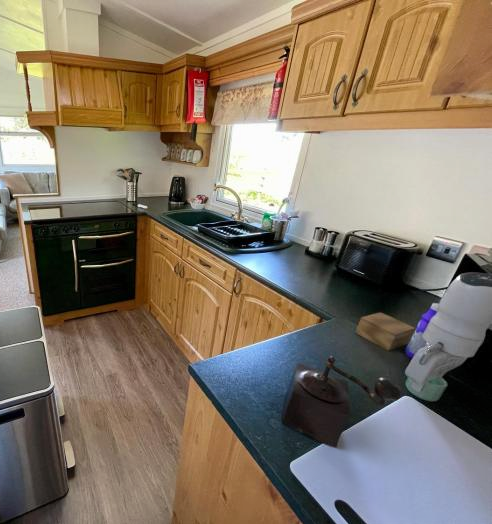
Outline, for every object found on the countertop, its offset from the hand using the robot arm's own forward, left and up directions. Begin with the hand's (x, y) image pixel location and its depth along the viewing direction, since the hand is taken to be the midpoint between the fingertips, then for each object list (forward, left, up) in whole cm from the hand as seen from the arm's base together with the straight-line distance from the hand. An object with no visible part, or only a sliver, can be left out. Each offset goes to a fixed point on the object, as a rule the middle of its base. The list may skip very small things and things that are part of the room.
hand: (424, 384), depth 72 cm
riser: (+18, -17, -2) cm, 25 cm away
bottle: (+8, -17, -3) cm, 19 cm away
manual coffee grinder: (+3, +34, -3) cm, 34 cm away
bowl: (0, 0, -2) cm, 2 cm away
